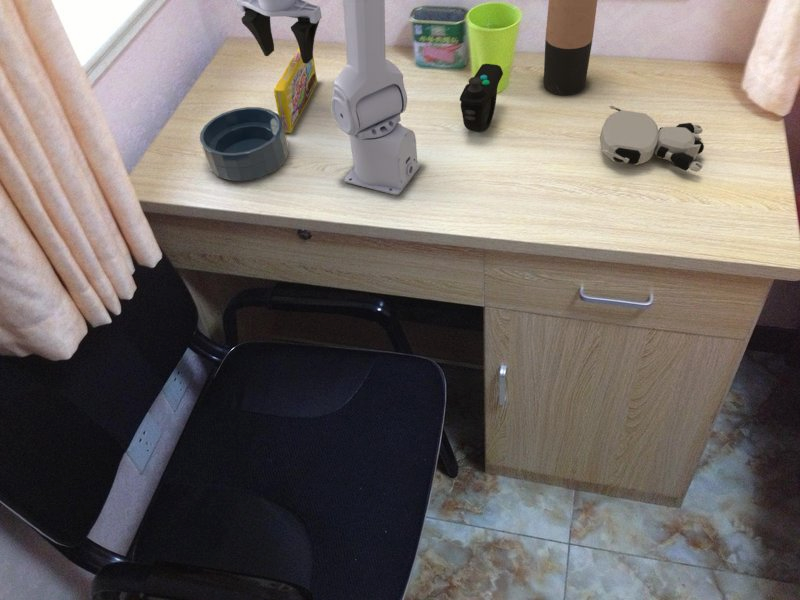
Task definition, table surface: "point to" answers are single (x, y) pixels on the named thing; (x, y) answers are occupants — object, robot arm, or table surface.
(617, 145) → the robot toy
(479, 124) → the controller
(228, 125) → the bowl
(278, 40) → the table surface
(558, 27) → the travel mug
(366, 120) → the robot arm
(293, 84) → the candy box
